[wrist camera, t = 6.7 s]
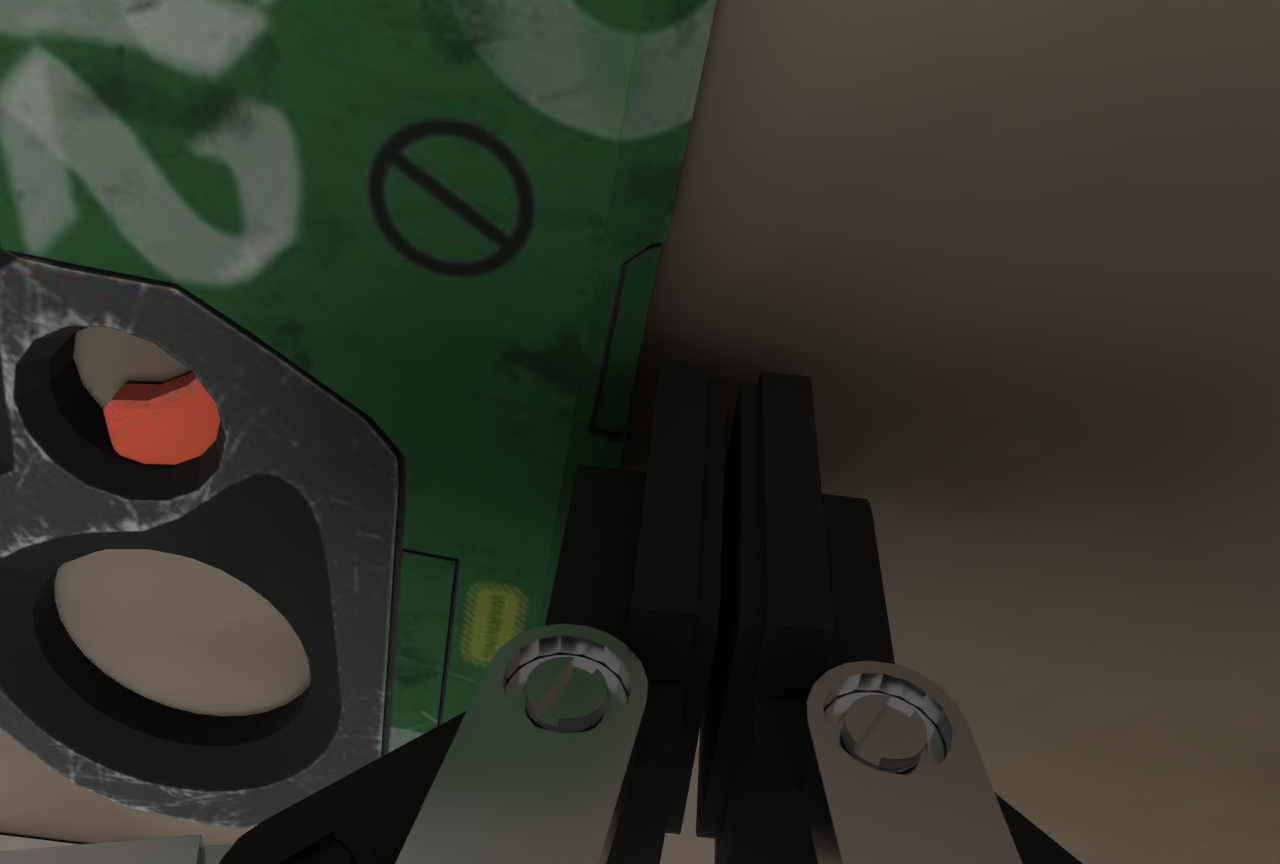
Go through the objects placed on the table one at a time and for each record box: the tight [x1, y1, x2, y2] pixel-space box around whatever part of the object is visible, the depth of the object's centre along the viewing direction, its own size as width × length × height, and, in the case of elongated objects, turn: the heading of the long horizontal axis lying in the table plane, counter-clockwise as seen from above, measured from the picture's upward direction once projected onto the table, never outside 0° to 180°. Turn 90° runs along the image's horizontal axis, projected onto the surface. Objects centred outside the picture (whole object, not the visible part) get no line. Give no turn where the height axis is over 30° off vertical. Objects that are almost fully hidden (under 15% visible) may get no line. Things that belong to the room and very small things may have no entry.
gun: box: [0, 0, 717, 828], centre depth 13 cm, size 16×1×10 cm
